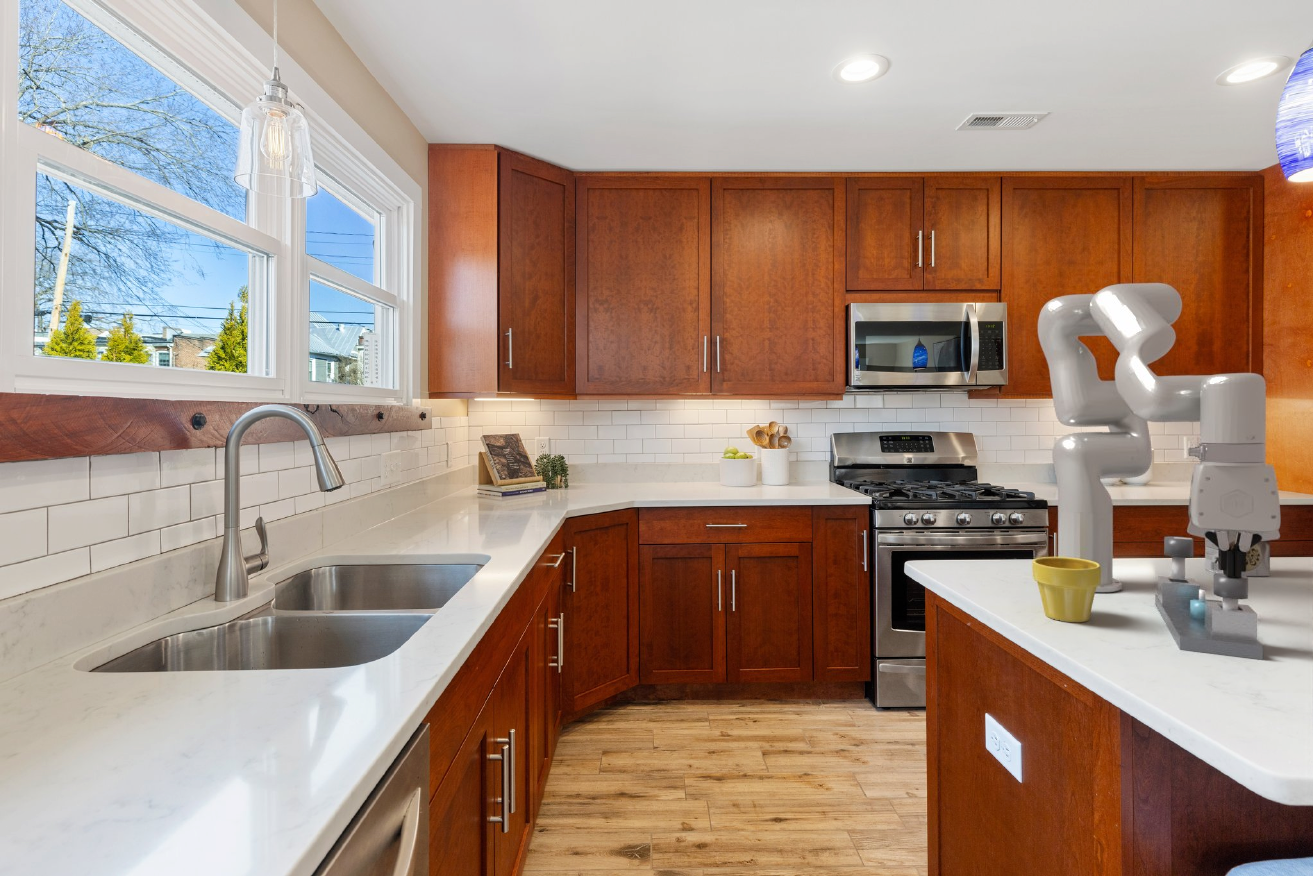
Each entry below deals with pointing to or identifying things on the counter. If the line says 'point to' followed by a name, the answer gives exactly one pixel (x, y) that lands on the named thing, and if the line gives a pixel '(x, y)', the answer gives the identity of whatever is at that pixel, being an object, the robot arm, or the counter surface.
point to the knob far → (1178, 553)
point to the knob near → (1230, 589)
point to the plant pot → (1067, 586)
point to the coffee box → (1254, 557)
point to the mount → (1207, 621)
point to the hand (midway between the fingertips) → (1232, 575)
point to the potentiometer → (1198, 606)
